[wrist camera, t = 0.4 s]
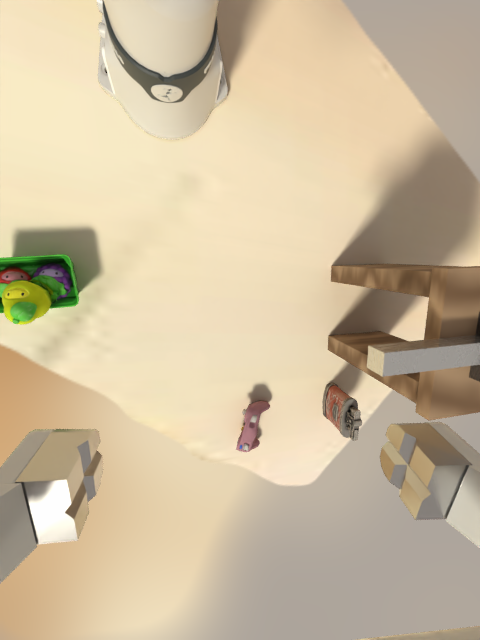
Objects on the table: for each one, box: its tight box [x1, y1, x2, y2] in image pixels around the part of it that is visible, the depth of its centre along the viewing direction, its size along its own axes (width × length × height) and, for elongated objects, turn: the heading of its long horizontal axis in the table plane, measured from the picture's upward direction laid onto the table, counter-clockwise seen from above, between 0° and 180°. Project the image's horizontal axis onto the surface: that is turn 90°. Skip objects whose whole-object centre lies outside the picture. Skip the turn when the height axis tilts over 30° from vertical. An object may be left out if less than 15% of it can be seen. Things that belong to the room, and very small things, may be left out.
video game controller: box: [236, 401, 270, 452], centre depth 57 cm, size 10×5×7 cm, turn 166°
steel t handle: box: [367, 312, 480, 382], centre depth 31 cm, size 8×18×4 cm, turn 91°
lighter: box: [323, 383, 362, 441], centre depth 58 cm, size 8×3×10 cm, turn 179°
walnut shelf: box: [328, 264, 480, 420], centre depth 47 cm, size 18×14×26 cm
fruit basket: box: [0, 254, 79, 324], centre depth 41 cm, size 11×9×11 cm
